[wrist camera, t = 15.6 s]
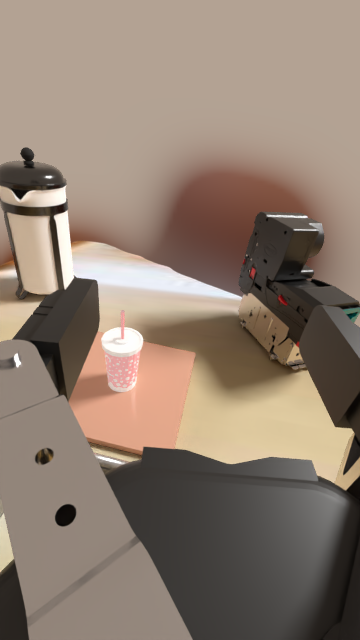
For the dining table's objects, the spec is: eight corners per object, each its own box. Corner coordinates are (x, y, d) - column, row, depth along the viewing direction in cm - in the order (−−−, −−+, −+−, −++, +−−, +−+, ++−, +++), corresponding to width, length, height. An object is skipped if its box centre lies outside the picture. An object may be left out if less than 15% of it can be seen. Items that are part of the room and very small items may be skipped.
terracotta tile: (195, 356, 57) (195, 352, 56) (171, 462, 39) (171, 458, 38) (88, 333, 59) (88, 329, 58) (19, 424, 41) (17, 419, 40)
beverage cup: (105, 367, 50) (102, 298, 42) (141, 368, 51) (145, 300, 43) (100, 395, 45) (96, 323, 37) (140, 396, 46) (144, 325, 38)
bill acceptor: (286, 382, 54) (346, 255, 40) (227, 314, 71) (254, 208, 57) (328, 371, 58) (396, 253, 44) (262, 309, 75) (296, 209, 61)
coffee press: (96, 292, 72) (89, 155, 55) (30, 312, 62) (-4, 153, 45) (63, 266, 82) (48, 142, 65) (0, 280, 72) (-37, 138, 55)
